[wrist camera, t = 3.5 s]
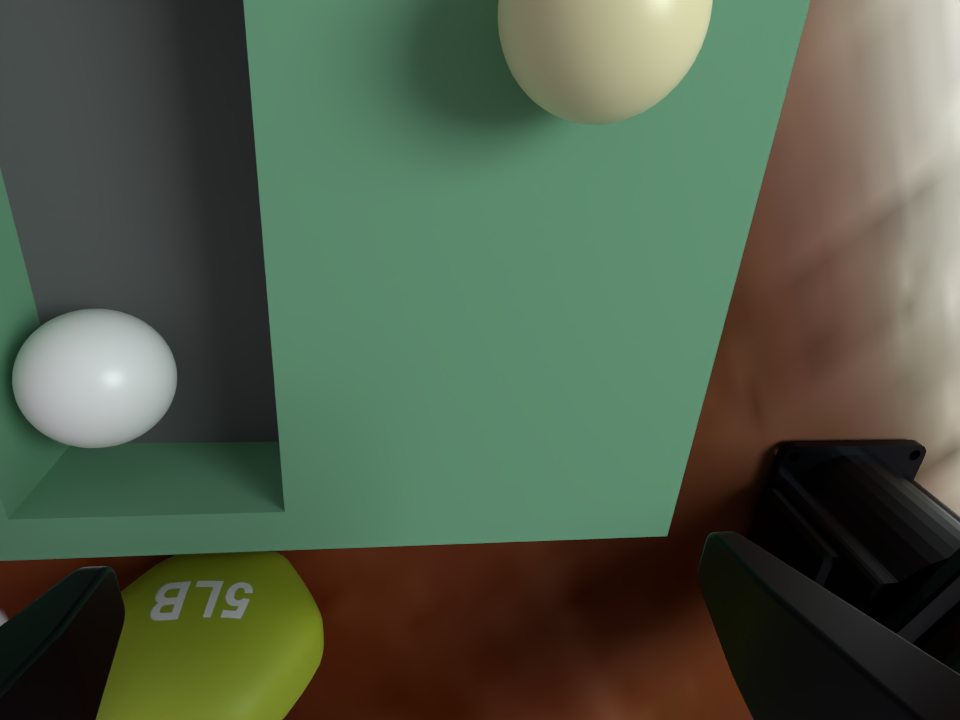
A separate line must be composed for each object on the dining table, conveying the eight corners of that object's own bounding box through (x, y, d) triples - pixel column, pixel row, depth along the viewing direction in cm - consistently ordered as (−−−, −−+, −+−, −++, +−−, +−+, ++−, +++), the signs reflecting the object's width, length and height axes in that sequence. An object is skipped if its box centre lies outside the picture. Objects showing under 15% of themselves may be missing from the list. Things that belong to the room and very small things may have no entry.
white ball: (194, 297, 18) (97, 352, 15) (212, 412, 20) (128, 487, 16) (73, 282, 19) (-50, 332, 15) (100, 396, 20) (-4, 464, 17)
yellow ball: (677, -79, 13) (788, -134, 9) (642, 122, 15) (723, 141, 11) (492, -103, 12) (533, -171, 9) (477, 110, 14) (507, 126, 10)
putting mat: (787, -276, 15) (913, -384, 11) (626, 466, 24) (667, 536, 21) (-212, -460, 12) (-478, -691, 8) (51, 477, 21) (-17, 561, 18)
